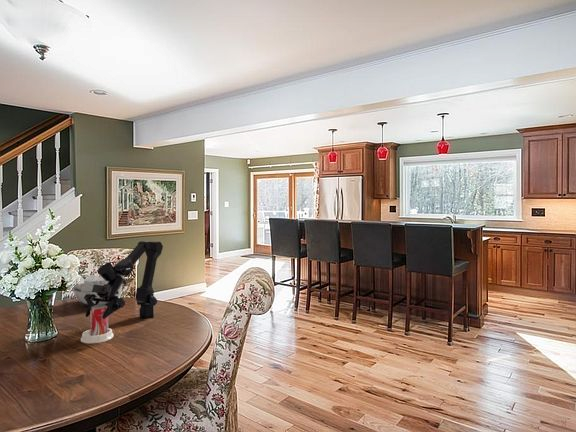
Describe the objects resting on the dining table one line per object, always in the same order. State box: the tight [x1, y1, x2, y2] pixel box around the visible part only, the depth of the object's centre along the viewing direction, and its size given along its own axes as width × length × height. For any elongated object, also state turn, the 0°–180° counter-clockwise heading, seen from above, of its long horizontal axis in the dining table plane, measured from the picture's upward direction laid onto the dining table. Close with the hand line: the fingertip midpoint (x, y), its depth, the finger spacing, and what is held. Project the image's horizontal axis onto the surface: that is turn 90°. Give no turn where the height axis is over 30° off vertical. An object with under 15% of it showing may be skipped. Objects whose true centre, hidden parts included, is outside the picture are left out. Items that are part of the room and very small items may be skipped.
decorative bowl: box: [71, 274, 125, 305], centre depth 234 cm, size 30×30×15 cm
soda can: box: [89, 304, 109, 336], centre depth 177 cm, size 7×7×13 cm
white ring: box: [80, 327, 114, 345], centre depth 176 cm, size 13×13×3 cm
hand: (94, 317), depth 175 cm, fingers open, 9 cm apart
